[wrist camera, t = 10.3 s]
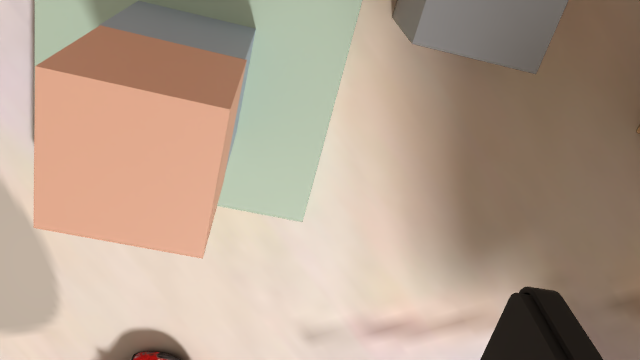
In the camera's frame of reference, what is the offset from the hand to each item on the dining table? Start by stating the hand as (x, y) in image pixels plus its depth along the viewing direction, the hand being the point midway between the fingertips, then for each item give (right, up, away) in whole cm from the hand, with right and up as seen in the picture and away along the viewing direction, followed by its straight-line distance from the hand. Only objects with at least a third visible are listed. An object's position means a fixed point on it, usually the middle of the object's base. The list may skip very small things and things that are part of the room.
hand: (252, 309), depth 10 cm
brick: (-5, +5, +14) cm, 16 cm away
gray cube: (+9, +13, +18) cm, 24 cm away
